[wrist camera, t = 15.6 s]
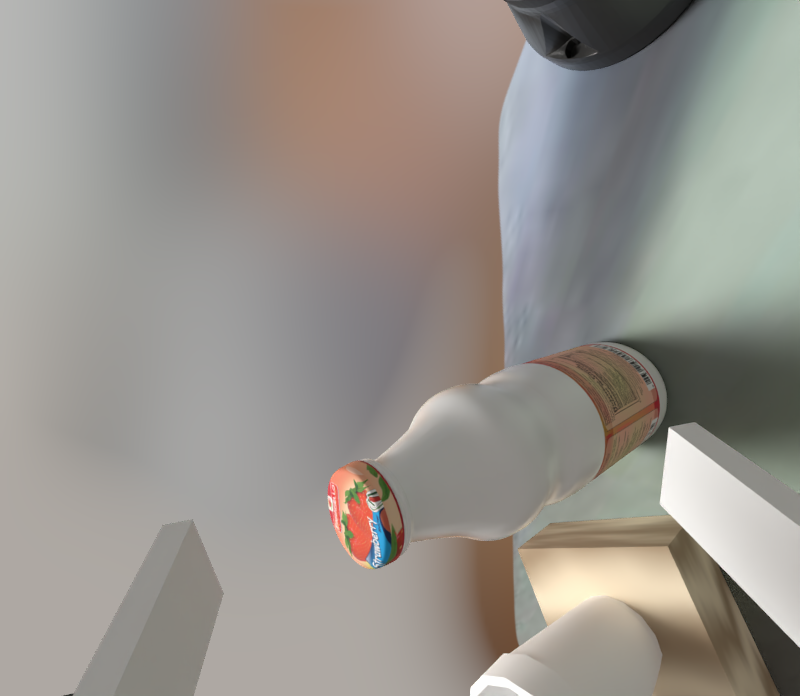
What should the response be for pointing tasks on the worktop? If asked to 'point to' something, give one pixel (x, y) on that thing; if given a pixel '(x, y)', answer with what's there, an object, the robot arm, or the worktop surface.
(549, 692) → the foam cup
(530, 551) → the maple block
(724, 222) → the worktop surface
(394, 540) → the fruit juice
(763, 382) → the worktop surface
